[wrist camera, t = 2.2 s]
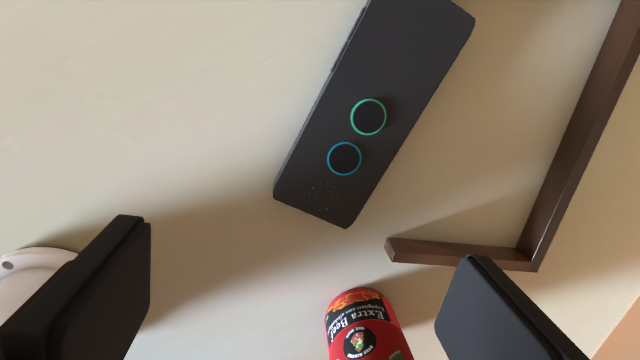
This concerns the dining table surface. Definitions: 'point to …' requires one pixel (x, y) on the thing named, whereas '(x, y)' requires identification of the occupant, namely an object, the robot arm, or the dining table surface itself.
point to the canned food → (364, 328)
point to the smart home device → (370, 104)
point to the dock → (567, 167)
